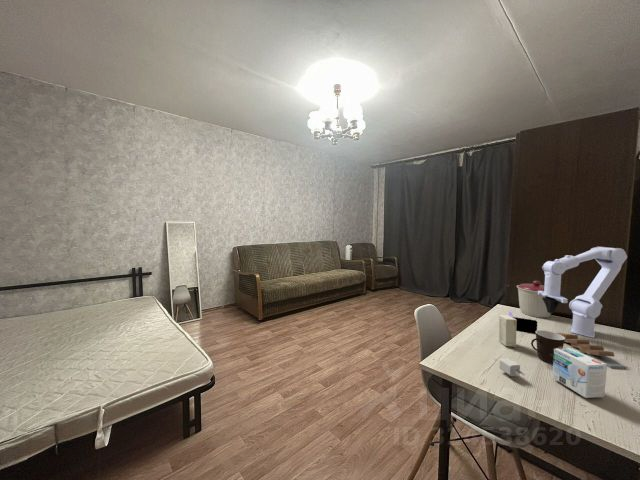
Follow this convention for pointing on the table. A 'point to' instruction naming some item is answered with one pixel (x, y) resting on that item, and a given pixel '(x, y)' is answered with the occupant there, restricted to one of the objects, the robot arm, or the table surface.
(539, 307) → the canister
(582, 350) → the domino
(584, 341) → the domino
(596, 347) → the domino
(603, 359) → the domino
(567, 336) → the domino
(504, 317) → the skincare box
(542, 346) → the coffee mug
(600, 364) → the light bulb box
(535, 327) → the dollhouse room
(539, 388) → the table surface
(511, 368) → the usb wall charger
